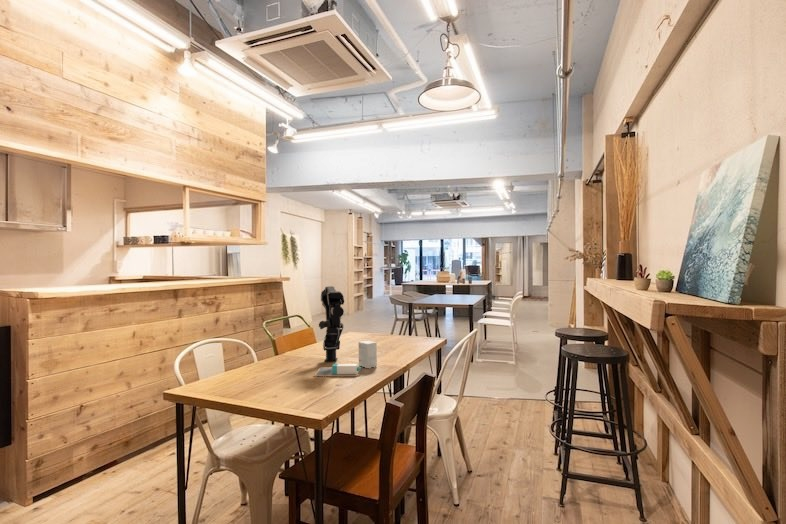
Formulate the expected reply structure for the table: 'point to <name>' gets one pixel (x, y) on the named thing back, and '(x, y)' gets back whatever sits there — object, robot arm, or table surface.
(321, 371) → the slate board
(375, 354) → the small box
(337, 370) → the marker
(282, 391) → the table surface
